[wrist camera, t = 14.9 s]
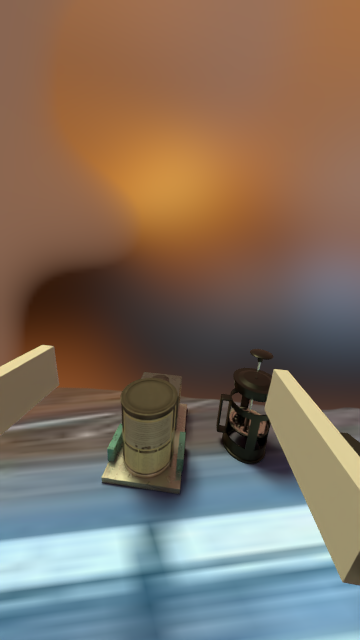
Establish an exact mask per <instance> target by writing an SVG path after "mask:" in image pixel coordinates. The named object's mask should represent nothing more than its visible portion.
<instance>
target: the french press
mask: <svg viewBox="0 0 360 640" xmlns="http://www.w3.org/2000/svg"><path fill="white" fill-rule="evenodd" d="M250 353H251V354H252V355H253V356H255V357H257V358H258V362H259V364H258V368H257V369H252V368H243V369H238V370H236V371H235V372H234V380H235V383H234V385H235V389H233V390H232V391H231V394H230V395H227V394H221V398H220V405H219V411H218V418H217V432H222V433H223V436H222V440H223V444H224V447H225V449H226V450H227V451H228V453H229V454H230V455H231V456H233V457H234V458H235V459H237V460H239V461H241V462H244V463H248V464H254V463H258V462H260V461H261V460H262V459H263V458H264V456H265V447H266V443H267V436H268V432H269V428H270V424H271V423H270V420H269V418H268V416H267V415H260V414H259V413H257V412H256V411H254V410H252V409H251V407H252V402H253V400H254V401H258V402H266V401H267V397H268V392H269V388H270V384H271V379H272V376H271V375H270V374H268V373H266V372H263V371H260V370H259V368H260V363H261V362H262V361H263V359H266V360H267V359H268V360H269V359H272V358H273V355H272V354H271V353H269V352H267V351H265V350H261V349H253V350H251V351H250ZM237 392H239V393H240V394H242V400H241V406H240V407H238V406H237V405H236V404H235V403H234V401H233V400H232V395H233V394H235V393H237ZM250 399H251V403H250V408H248V404H249V400H250ZM223 400H225V401H229V406H228V412H227V418H226V424H225V426H222V425H219V423H220V416H221V410H222V403H223ZM231 406H232V408H233V409H232V410H231V411H230V409H231ZM234 430H235V431H236V432H237V433H239V434H240V435H242V436H244V437H246V438H247V442H246V446H245V448H243V447H240V446H239V445H237V444H236V443H235V442H233V441H232V440H231V439H230V437H229V436H228V435H229V434H230V433H231V432H232V431H234ZM256 440H257V442H258V444H259V449H257V450H254V448H255V444H256Z"/></svg>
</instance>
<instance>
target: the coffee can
mask: <svg viewBox="0 0 360 640" xmlns="http://www.w3.org/2000/svg"><path fill="white" fill-rule="evenodd" d="M177 399H178V393H177V390H176V388H175V387H174V386H173V385H172V384H171V383H170V382H168V381H166V380H163V379H159V378H144V379H139V380H136V381H134V382H132V383H130V384H129V385H128V386H126V387H125V389H124V390H123V391H122V394H121V405H122V433H123V462H124V465H125V467H126V468H127V470H128V471H129V472H130V473H132V474H133V475H135V476H138V477H142V478H149V477H153V476H156V475H158V474H160V473H162V472H163V471H164V470H165V469H166V468H167V467H168V466H169V464H170V463H171V461H172V458H173V445H174V431H175V417H176V403H177Z"/></svg>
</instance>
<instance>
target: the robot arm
mask: <svg viewBox="0 0 360 640" xmlns="http://www.w3.org/2000/svg"><path fill="white" fill-rule="evenodd" d="M58 385H59V382H58V374H57V367H56V359H55V352H54V346H46V345H42V346H39V347H38V348H35V349H34V350H32V351H30V352H28V353H26V354H24V355H22V356H20V357H18V358H16V359H14V360H13V361H10V362H9V363H7V364H5V365H3V366H1V367H0V436H1V435H2V434H3V433H4V432H5V431H6V430H8V429H9V428H10V427H11V426H12V425H13V424H15V423H16V422H17V421H18V420H19V419H20V418H21V417H23V416H24V415H25V414H26V413H27V412H28V411H30V410H31V409H32V408H33V407H34V406H35V405H36V404H38V403H39V402H40V401H41V400H42V399H43V398H45V397H46V396H47V395H48V394H49V393H50V392H51V391H53V390H54V389H55V388H56V387H57V386H58ZM265 411H266V414H267V416H268V418H269V420H270V423H271V425H272V427H273V429H274V431H275V434H276V436H277V438H278V440H279V442H280V445H281V447H282V449H283V451H284V454H285V456H286V458H287V460H288V462H289V465H290V467H291V469H292V471H293V473H294V476H295V478H296V480H297V482H298V485H299V487H300V489H301V491H302V493H303V496H304V498H305V500H306V502H307V504H308V507H309V509H310V511H311V513H312V516H313V518H314V520H315V522H316V524H317V527H318V529H319V531H320V533H321V535H322V538H323V540H324V542H325V544H326V547H327V549H328V551H329V553H330V555H331V558H332V560H333V562H334V564H335V566H336V569H337V571H338V573H339V575H340V578H341V580H342V582H343V583H349V584H355V585H360V442H358V441H357V440H356V439H354V438H353V437H352V436H351V435H349V434H348V433H340V432H339V431H338V430H337V429H336V428H335V427H334V425H333V424H332V423H331V422H330V421H329V419H328V418H327V417H326V416H325V415H324V413H323V412H322V411H321V410H320V409H319V407H318V406H317V405H316V404H315V403H314V401H313V400H312V399H311V398H310V397H309V395H308V394H307V393H306V392H305V391H304V389H303V388H302V387H301V386H300V385H299V384H298V382H297V381H296V380H295V379H294V377H293V376H292V375H291V374H290V373H289V371H286V370H276V369H274V371H273V375H272V379H271V384H270V388H269V392H268V397H267V401H266V405H265Z"/></svg>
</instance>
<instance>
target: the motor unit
mask: <svg viewBox="0 0 360 640" xmlns="http://www.w3.org/2000/svg"><path fill="white" fill-rule="evenodd" d="M144 378H159V379H163V380H166V381H168V382H170V383H171V384H172V385H173V386H174V387H175V388H176V390H177V393H178V399H177V403H176V417H175V431H174V445H173V458H172V461H171V463H170V464H169V466H168V467H167V468H166V469H165V470H164V471H163V472H162V473H160V474H158V475H156V476H153V477H149V478H142V477H138V476H135V475H133V474H132V473H130V472H129V471H128V470H127V468H126V467H125V465H124V462H123V433H122V424H119V427H118V429H117V431H116V433H115V435H114V437H113V439H112V441H111V443H110V445H109V447H108V449H107V450H108V461H109V462H108V465H107V467H106V469H105V471H104V473H103V476H102V482H103V483H110V484H116V485H123V486H129V487H136V488H142V489H149V490H155V491H162V492H169V493H175V494H179V493H180V482H181V471H183V460H184V447H185V434H186V432H185V422H186V410H187V404H180V392H181V380H182V376H174V375H165V374H156V373H147V372H144V374H143V376H142V378H141V379H144Z"/></svg>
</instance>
